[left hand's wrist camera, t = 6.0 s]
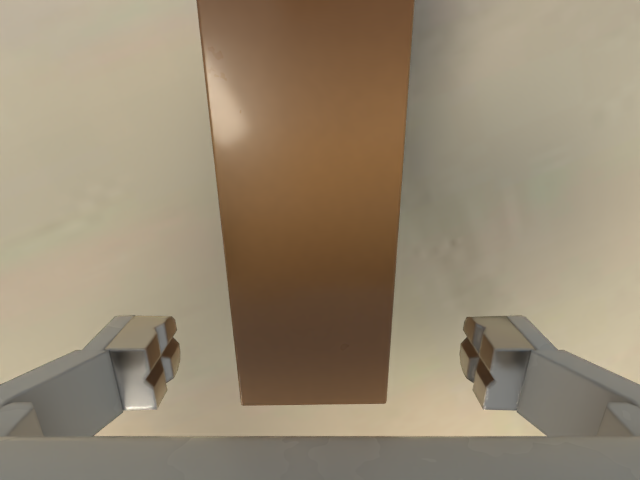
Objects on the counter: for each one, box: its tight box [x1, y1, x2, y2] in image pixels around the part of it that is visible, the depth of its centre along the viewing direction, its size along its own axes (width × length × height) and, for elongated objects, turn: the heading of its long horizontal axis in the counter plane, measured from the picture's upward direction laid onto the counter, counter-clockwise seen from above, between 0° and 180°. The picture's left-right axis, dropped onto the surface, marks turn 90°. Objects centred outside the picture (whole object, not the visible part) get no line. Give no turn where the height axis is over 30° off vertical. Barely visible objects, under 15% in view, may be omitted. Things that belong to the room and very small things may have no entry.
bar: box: [196, 0, 415, 406], centre depth 11 cm, size 24×5×8 cm, turn 1°
